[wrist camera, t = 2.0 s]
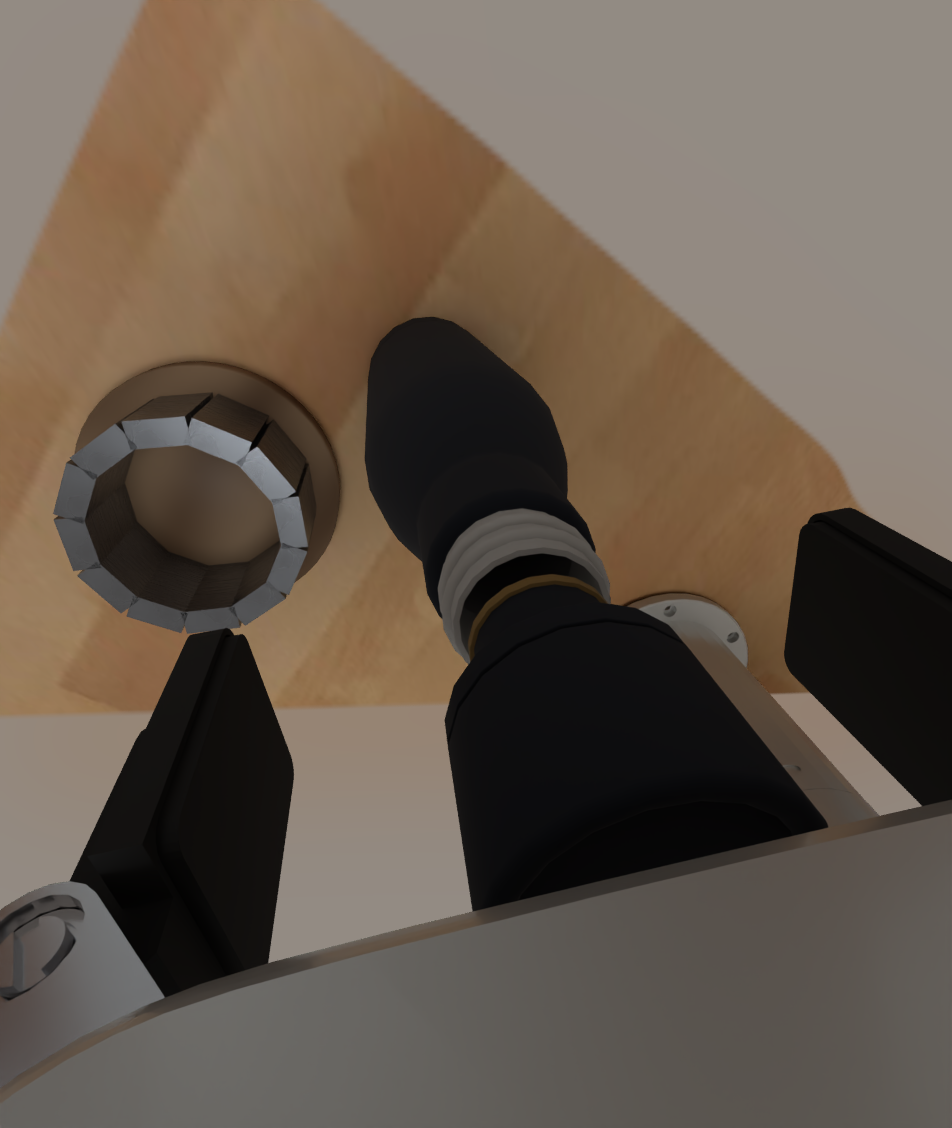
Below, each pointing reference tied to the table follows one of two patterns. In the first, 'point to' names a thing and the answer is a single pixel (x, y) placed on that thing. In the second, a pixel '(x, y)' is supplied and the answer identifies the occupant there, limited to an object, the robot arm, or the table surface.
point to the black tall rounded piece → (551, 646)
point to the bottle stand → (197, 496)
